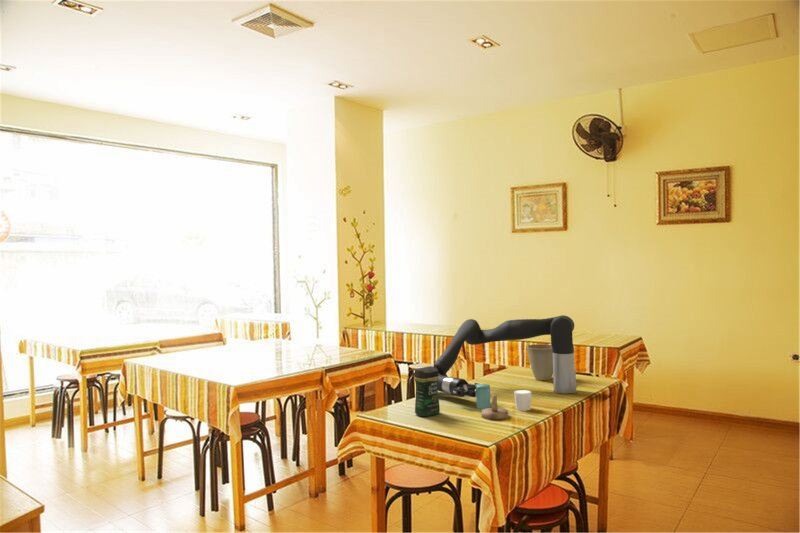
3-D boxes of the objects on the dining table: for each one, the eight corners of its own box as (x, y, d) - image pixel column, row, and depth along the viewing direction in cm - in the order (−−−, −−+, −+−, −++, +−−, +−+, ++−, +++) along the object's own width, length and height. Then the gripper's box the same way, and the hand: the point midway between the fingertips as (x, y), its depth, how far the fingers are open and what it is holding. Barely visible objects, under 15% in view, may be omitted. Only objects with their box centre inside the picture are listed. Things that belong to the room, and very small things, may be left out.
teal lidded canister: (490, 405, 235) (489, 383, 235) (490, 409, 229) (489, 386, 229) (476, 405, 235) (475, 383, 235) (476, 409, 230) (475, 386, 230)
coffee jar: (425, 418, 220) (423, 370, 219) (412, 414, 226) (410, 367, 226) (443, 413, 226) (441, 366, 226) (430, 409, 232) (428, 364, 232)
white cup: (522, 412, 223) (521, 394, 223) (510, 408, 229) (510, 391, 229) (535, 409, 226) (535, 392, 226) (524, 405, 232) (523, 388, 232)
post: (507, 412, 223) (506, 392, 223) (509, 420, 213) (508, 398, 213) (481, 412, 224) (480, 392, 224) (482, 420, 215) (481, 399, 214)
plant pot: (557, 383, 269) (556, 349, 268) (525, 381, 274) (524, 348, 274) (560, 376, 283) (559, 344, 282) (530, 375, 288) (528, 343, 288)
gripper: (442, 380, 241) (469, 386, 228) (466, 374, 249) (494, 380, 237) (442, 398, 241) (470, 405, 228) (467, 392, 250) (494, 398, 237)
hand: (482, 392), depth 232 cm, fingers open, 8 cm apart
